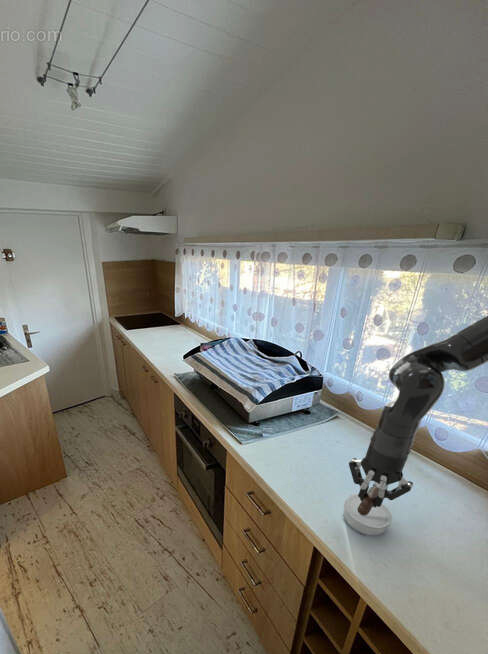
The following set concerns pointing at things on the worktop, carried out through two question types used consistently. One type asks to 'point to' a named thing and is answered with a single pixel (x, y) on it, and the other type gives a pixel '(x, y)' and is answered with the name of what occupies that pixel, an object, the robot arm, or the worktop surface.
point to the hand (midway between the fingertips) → (368, 501)
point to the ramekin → (366, 517)
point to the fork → (368, 500)
